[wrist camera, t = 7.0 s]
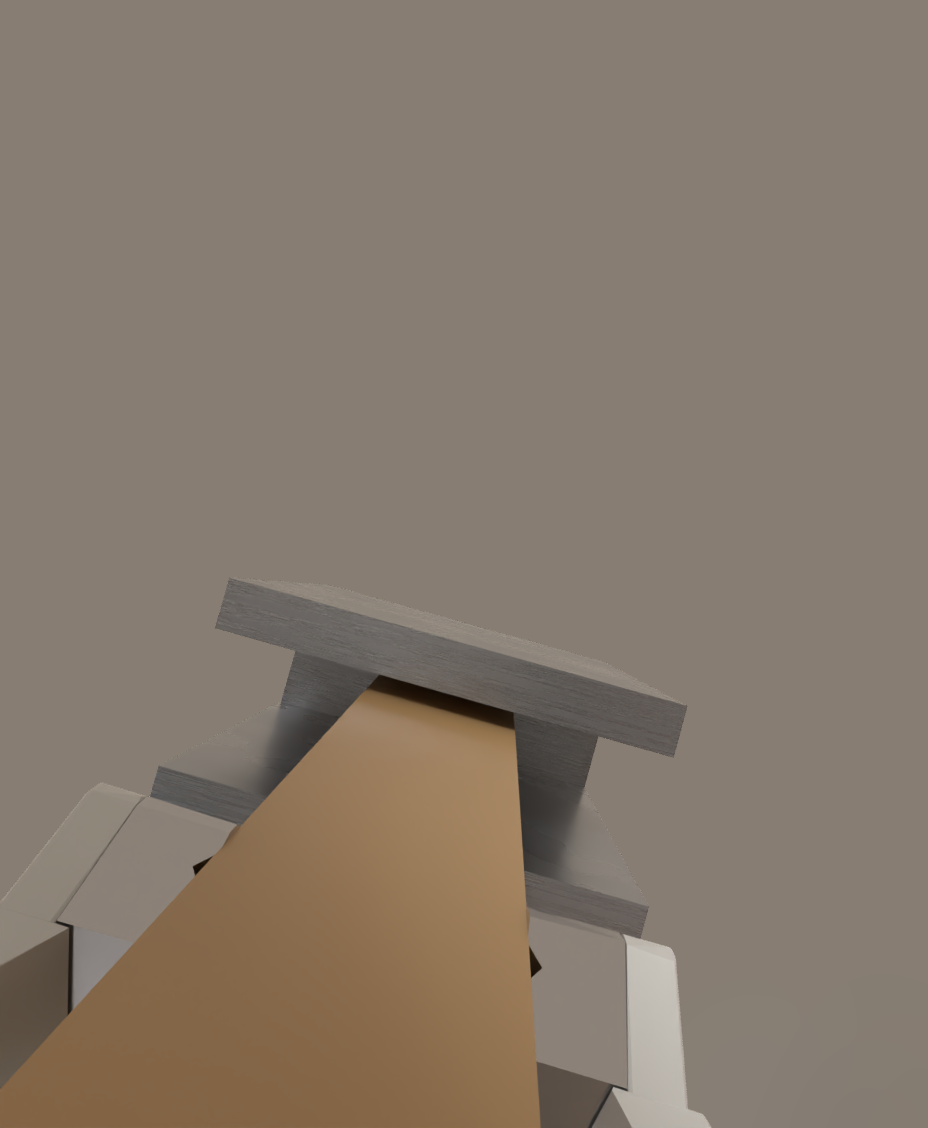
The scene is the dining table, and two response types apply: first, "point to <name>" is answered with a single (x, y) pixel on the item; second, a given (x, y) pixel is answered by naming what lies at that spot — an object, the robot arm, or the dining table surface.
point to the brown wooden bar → (328, 952)
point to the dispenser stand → (457, 667)
